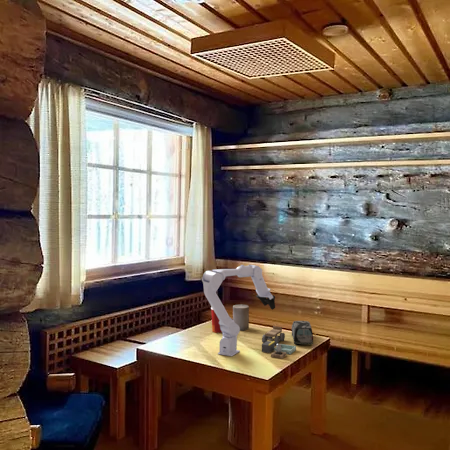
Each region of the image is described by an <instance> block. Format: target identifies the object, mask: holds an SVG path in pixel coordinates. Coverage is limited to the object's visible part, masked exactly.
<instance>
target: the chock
mask: <svg viewBox="0 0 450 450" xmlns="http://www.w3.org/2000/svg"><path fill="white" fill-rule="evenodd" d="M275 347H276V345H275V341H271V340H267V341H266V342H265V343H263V342H262V344H261V352H262V353H268V354H271V353H273V352H274V351H275Z"/></svg>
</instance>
